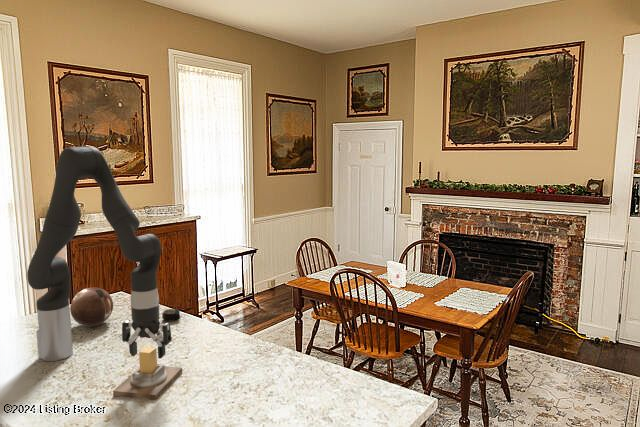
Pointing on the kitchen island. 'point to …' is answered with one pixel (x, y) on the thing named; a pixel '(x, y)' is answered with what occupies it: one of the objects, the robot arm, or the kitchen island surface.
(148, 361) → the yellow rectangular block
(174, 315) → the tape measure
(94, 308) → the wooden sphere
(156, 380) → the rosette socket
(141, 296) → the robot arm
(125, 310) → the kitchen island surface
